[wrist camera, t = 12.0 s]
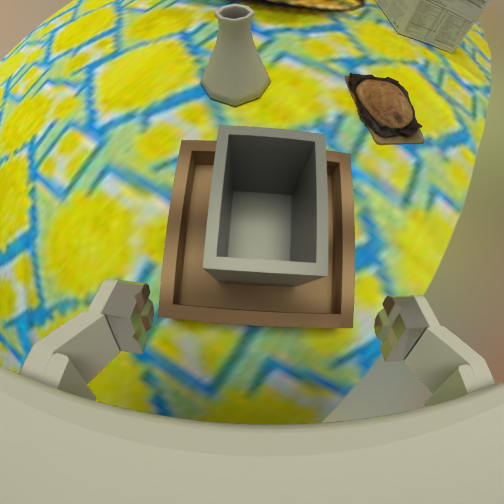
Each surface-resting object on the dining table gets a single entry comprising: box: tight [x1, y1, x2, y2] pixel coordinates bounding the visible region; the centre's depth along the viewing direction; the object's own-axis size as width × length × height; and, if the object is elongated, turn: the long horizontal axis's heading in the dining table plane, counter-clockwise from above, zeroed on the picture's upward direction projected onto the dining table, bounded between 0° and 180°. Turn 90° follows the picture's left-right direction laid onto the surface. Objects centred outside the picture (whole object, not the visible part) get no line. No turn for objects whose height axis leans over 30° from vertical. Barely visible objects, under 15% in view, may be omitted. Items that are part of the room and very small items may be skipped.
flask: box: [200, 4, 271, 106], centre depth 22 cm, size 7×7×10 cm
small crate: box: [203, 125, 328, 287], centre depth 19 cm, size 8×6×9 cm
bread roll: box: [345, 73, 424, 145], centre depth 26 cm, size 11×8×4 cm
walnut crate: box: [158, 140, 355, 328], centre depth 22 cm, size 14×14×4 cm
